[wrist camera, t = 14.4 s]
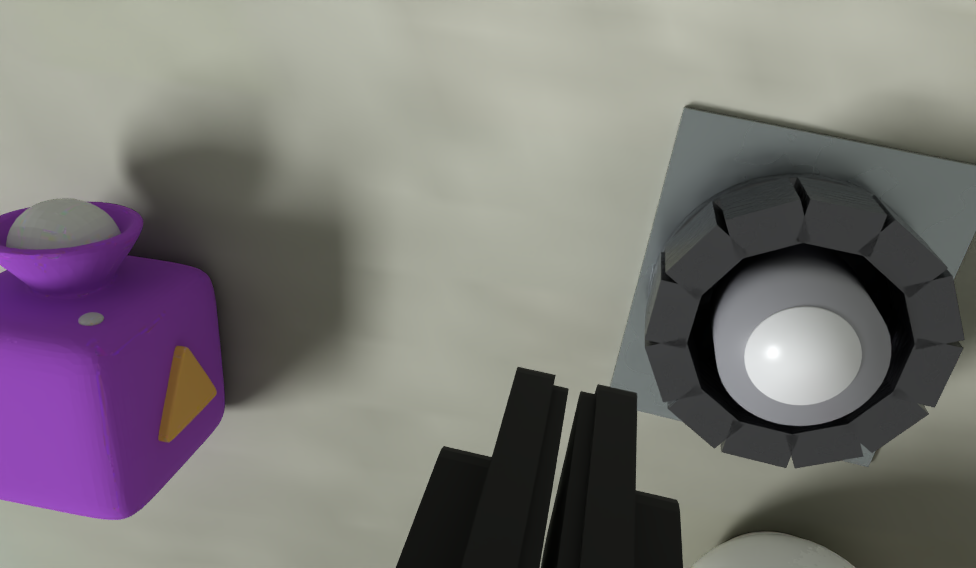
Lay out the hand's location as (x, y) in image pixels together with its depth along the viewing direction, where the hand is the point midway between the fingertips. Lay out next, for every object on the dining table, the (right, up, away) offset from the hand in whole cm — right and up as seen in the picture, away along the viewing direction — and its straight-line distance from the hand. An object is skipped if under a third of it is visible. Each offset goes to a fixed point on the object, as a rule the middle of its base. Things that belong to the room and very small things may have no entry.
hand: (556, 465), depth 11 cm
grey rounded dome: (+11, +1, +21) cm, 24 cm away
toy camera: (-19, +2, +30) cm, 35 cm away
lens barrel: (+12, +2, +22) cm, 25 cm away
